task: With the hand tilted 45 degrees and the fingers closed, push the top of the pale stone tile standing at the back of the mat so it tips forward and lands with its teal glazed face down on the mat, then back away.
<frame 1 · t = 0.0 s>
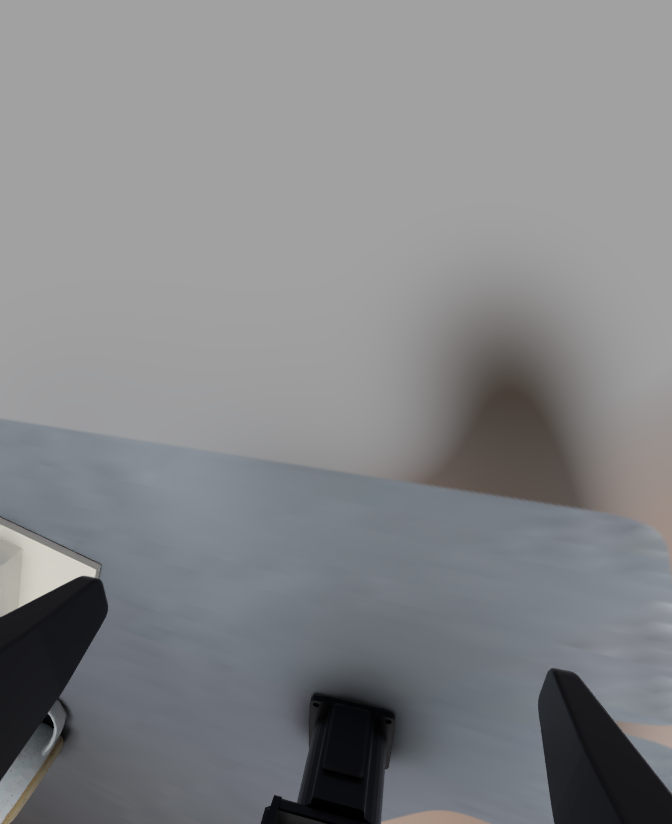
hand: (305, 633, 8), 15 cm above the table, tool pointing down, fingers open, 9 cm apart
tile: (9, 573, 33), resting on mat
ceramic mug: (37, 711, 42), on the table
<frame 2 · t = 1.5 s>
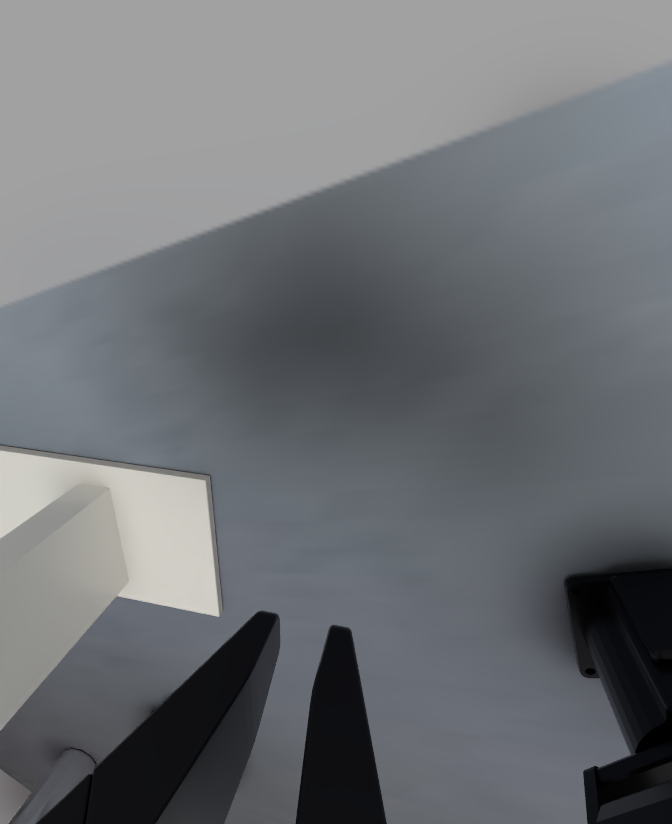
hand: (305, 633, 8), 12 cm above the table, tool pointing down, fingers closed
tile: (105, 534, 25), resting on mat
mat: (68, 522, 26), on the table
milkshake: (78, 755, 38), on the table
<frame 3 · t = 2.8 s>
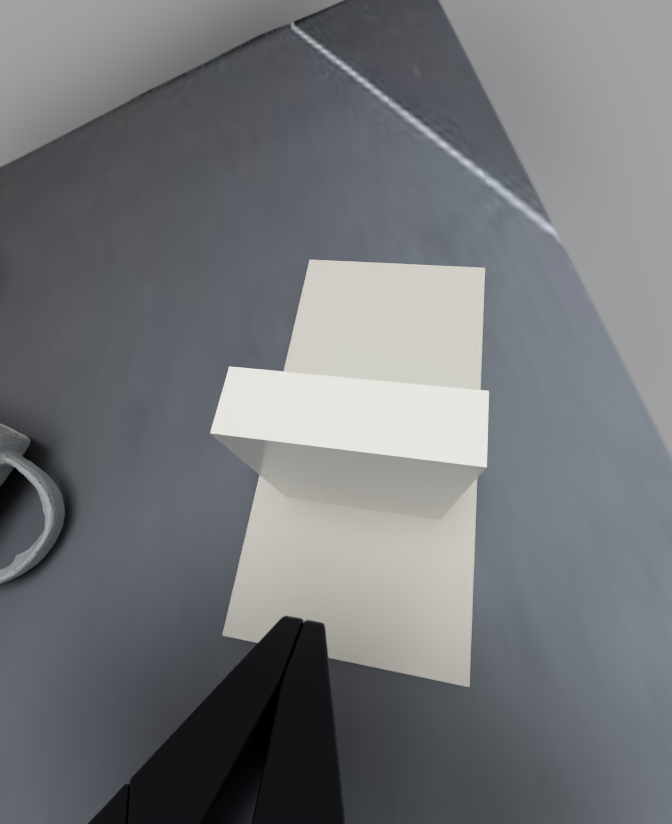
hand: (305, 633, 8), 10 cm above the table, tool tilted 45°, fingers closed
tile: (364, 486, 19), resting on mat
mat: (372, 429, 20), on the table
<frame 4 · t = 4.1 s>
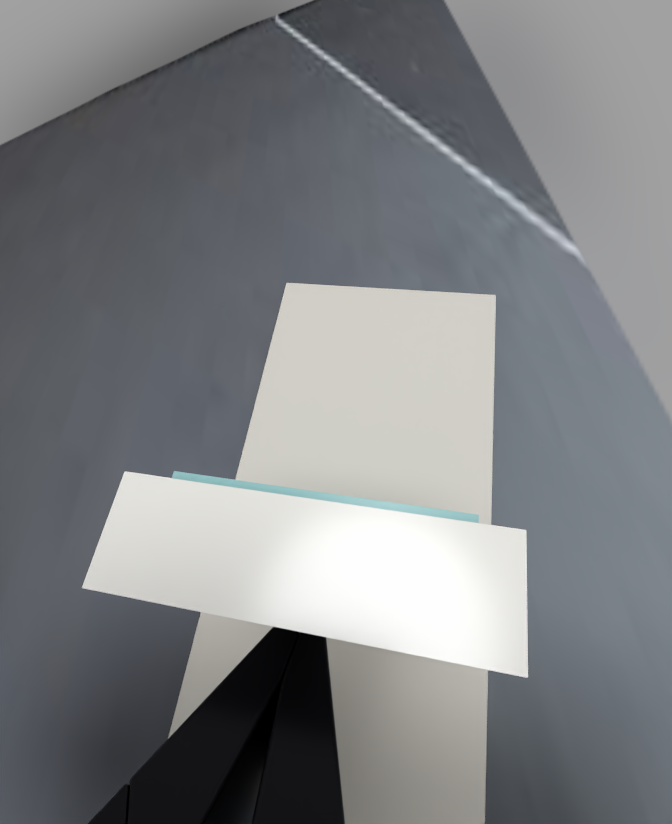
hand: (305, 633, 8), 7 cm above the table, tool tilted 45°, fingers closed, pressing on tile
tile: (345, 576, 15), point 1 cm above the table, touching gripper, mat
mat: (357, 497, 16), on the table
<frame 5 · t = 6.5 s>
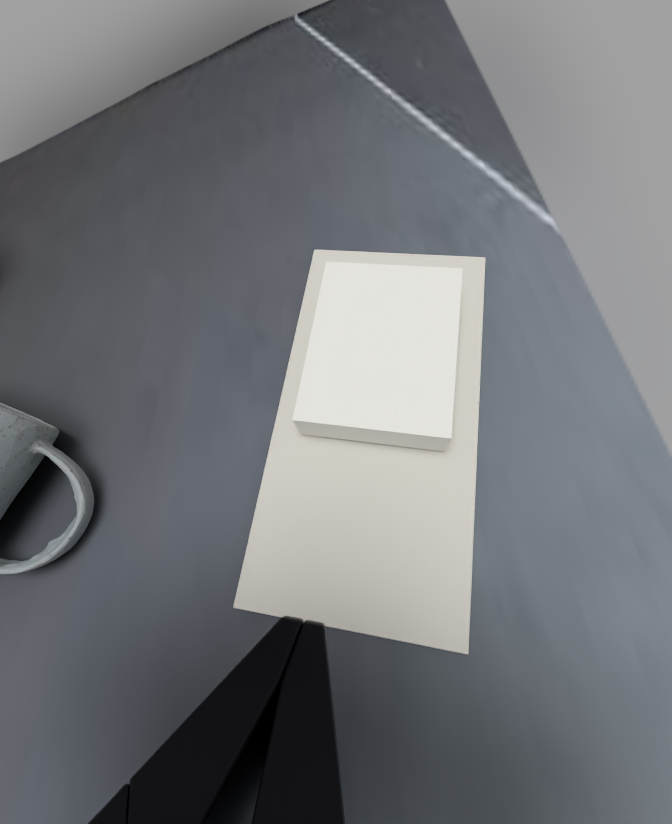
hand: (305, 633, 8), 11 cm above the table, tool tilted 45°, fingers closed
tile: (370, 436, 19), point 2 cm above the table, tilted 90°, touching mat
mat: (375, 413, 21), on the table
ceramic mug: (20, 489, 22), on the table
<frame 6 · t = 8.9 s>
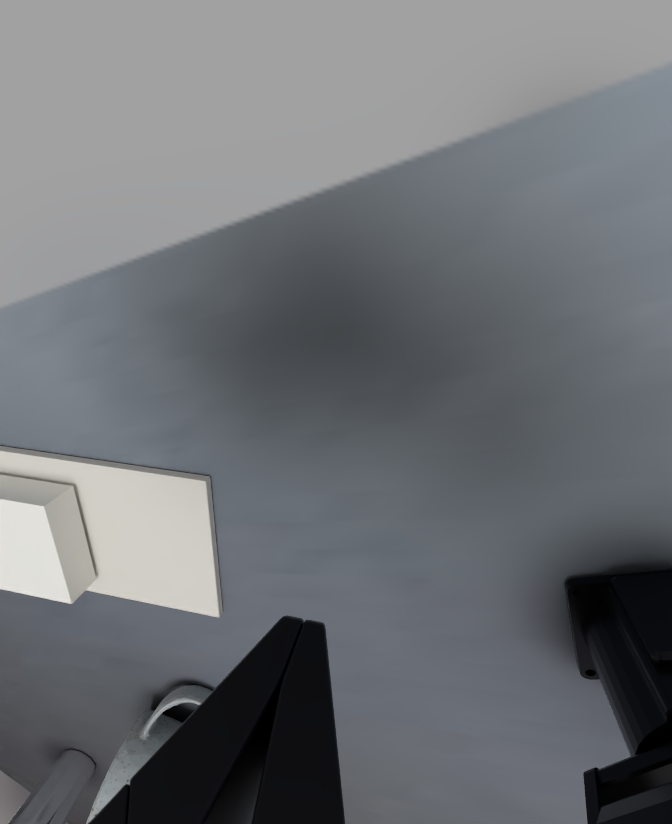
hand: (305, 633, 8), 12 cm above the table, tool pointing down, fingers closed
tile: (72, 546, 24), point 2 cm above the table, tilted 90°, touching mat
mat: (68, 523, 26), on the table
milkshake: (77, 756, 38), on the table
ceramic mug: (195, 720, 32), on the table
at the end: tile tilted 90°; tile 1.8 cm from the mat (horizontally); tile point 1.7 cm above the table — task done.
